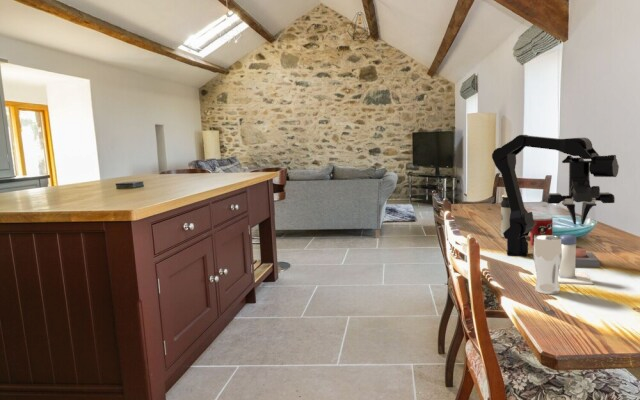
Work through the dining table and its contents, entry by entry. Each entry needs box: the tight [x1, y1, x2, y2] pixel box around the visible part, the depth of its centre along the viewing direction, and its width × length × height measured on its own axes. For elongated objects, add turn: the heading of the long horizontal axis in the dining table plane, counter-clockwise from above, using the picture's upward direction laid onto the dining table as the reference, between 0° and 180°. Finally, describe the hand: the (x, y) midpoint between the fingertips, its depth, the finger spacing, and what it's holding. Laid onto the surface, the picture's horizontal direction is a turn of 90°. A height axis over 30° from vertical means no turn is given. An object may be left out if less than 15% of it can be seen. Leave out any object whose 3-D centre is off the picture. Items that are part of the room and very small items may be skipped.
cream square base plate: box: [558, 270, 594, 286], centre depth 132 cm, size 11×11×1 cm
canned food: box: [530, 215, 554, 247], centre depth 173 cm, size 8×8×11 cm
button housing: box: [575, 251, 600, 269], centre depth 147 cm, size 10×10×2 cm
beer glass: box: [532, 234, 562, 295], centre depth 122 cm, size 7×7×15 cm
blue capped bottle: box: [559, 234, 577, 278], centre depth 132 cm, size 4×4×12 cm
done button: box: [576, 247, 587, 258], centre depth 147 cm, size 4×4×3 cm
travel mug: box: [500, 194, 511, 239], centre depth 189 cm, size 8×8×18 cm
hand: (578, 224), depth 145 cm, fingers closed
